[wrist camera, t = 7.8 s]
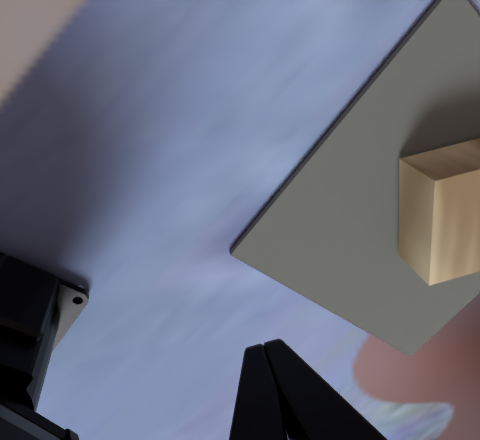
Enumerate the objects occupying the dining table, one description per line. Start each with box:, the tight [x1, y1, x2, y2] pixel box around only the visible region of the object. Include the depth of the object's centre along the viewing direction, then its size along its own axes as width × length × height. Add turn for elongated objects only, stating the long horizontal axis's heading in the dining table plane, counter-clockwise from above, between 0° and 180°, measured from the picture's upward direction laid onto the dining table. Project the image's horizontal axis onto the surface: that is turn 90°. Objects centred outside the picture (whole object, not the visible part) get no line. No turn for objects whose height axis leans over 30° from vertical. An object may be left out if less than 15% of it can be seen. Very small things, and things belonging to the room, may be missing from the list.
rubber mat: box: [230, 0, 480, 356], centre depth 24 cm, size 16×16×1 cm
